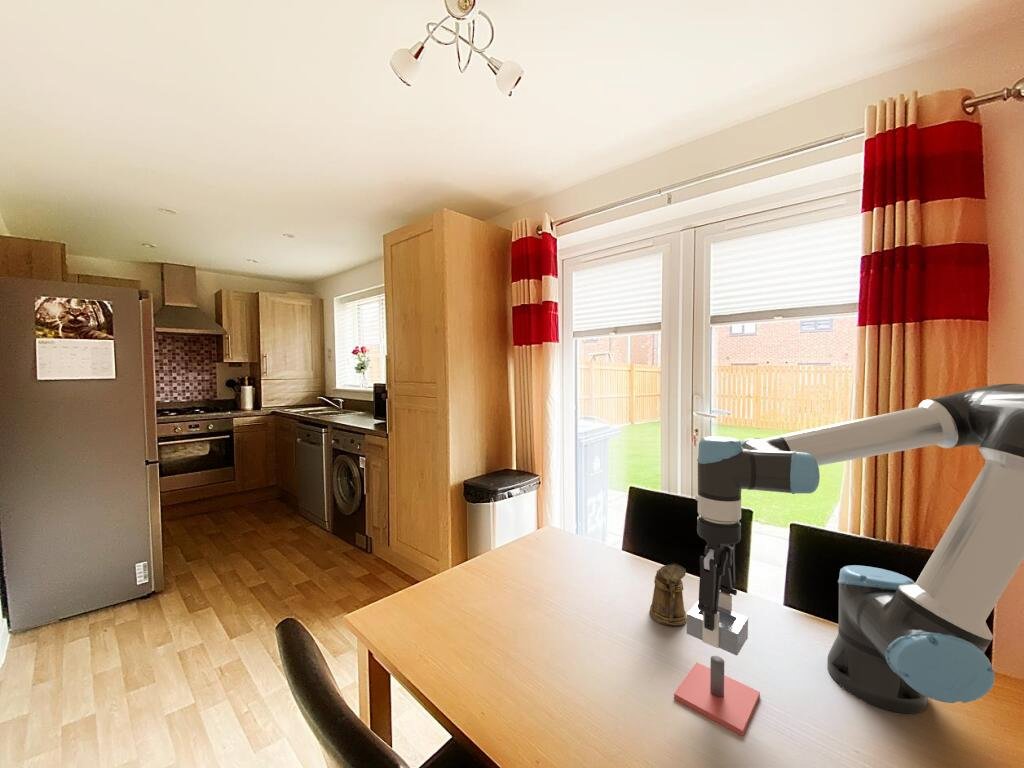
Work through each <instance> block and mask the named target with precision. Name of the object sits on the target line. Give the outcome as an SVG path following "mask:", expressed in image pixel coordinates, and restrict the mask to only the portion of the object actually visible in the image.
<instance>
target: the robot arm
mask: <svg viewBox="0 0 1024 768" xmlns="http://www.w3.org/2000/svg"><path fill="white" fill-rule="evenodd" d="M932 446H937V447H939V448H943V449H952V448H953V449H954V448H956V447H967V446H968V447H969V446H977V447H978V446H979V447H978V451H979V453H980V454H981V456H982V457H983V459H984V460H985V462H984V465H983V467H982V468H981V470H980V471H979V473H978V475H977V476H976V479H975V480H974V481H973V484H972V485H971V487H970V489H969V490H968V492H967V494H966V495H965V497H964V500H963V501H962V502H961V504H960V506H959V507H958V510H957V511H956V513H955V514H954V516H953V517H952V519H951V522H950V523H949V525H948V526H947V528H946V530H945V532H944V533H943V535H942V537H941V538H940V539H939V542H938V543H937V544H936V547H935V548H934V551H933V552H932V554H931V555H930V557H929V559H928V561H926V564H925V565H924V568H923V569H922V571H921V572H920V575H918V578H917V580H916V581H914V580H913V579H912V578H910V577H908V576H906V575H903V574H900V573H899V572H896V571H893V570H888V569H884V568H879V567H873V566H870V565H869V566H866V565H858V564H857V565H856V564H853V565H845V566H843V567H842V568H840V569H839V570H840V571H839V577H838V580H837V583H838V621H837V622H838V632H837V636H836V638H835V640H834V642H833V644H832V646H831V648H830V650H829V652H828V655H827V659H826V660H827V661H826V662H827V666H826V667H827V672H828V673H829V674H830V676H831V678H832V679H833V680H834V681H835V682H836V683H837V684H838V685H839V686H840V687H841V688H843V689H844V690H846V691H847V692H848V693H850V694H851V695H853V696H855V697H857V698H859V700H862V701H864V702H866V703H868V704H870V705H873V706H875V707H878V708H882V709H884V710H888V711H892V712H896V713H901V714H916V713H917V714H918V713H921V712H923V711H925V710H926V709H927V706H928V698H929V699H931V700H934V701H938V702H941V703H948V704H956V703H958V702H961V703H963V704H965V703H966V704H967V703H970V702H974V701H976V700H979V699H982V698H983V697H985V696H986V695H987V694H988V693H989V692H990V691H991V689H992V688H993V686H994V683H995V681H996V680H995V678H996V677H995V671H994V668H992V663H991V662H990V659H989V658H988V656H987V655H986V654H985V652H986V650H987V649H988V647H989V646H990V644H991V642H992V641H993V639H994V635H993V633H992V632H991V630H990V629H989V627H988V624H987V622H986V621H987V620H988V618H989V616H990V614H992V613H991V612H992V611H993V609H994V608H995V606H996V604H997V603H998V601H999V600H1000V598H1001V597H1002V595H1003V593H1004V592H1005V590H1006V588H1007V587H1008V586H1009V583H1010V582H1011V580H1012V579H1013V577H1014V576H1015V574H1016V572H1017V571H1018V569H1019V567H1020V565H1021V564H1022V563H1023V561H1024V383H999V384H993V385H986V386H985V385H984V386H982V387H977V388H972V389H968V390H963V391H959V392H956V393H950V394H947V395H943V396H939V397H935V398H934V397H933V398H928V399H925V400H922V401H921V402H920V403H919V405H918V406H917V407H913V408H911V407H910V408H908V409H901V410H898V411H893V412H888V413H887V412H886V413H882V414H879V415H873V416H869V417H863V418H858V419H854V420H849V421H844V422H839V423H834V424H829V425H823V426H820V427H814V428H810V429H805V430H801V431H795V432H789V433H785V434H781V435H776V436H775V435H774V436H770V437H765V438H760V437H748V438H745V439H743V440H742V441H741V440H740V439H738V438H734V437H725V436H705V437H702V438H701V439H700V440H699V442H698V453H697V459H696V461H697V496H695V497H694V499H695V501H697V513H698V516H697V519H696V520H697V521H696V522H697V524H696V525H697V526H696V532H697V533H696V534H697V535H698V537H700V538H701V539H703V540H704V541H705V542H706V546H705V547H704V551H703V555H700V557H699V559H698V561H699V583H698V584H699V586H698V601H699V602H698V601H697V602H698V605H697V607H698V609H699V610H701V611H703V641H702V643H705V644H708V645H709V646H711V647H714V648H716V649H718V647H719V612H718V606H719V607H721V608H724V609H727V610H730V611H732V612H733V610H732V609H733V596H737V594H738V590H737V589H734V588H735V587H736V586H737V585H736V584H737V583H736V557H735V556H736V552H735V550H736V544H738V543H740V541H741V539H742V537H741V536H742V533H741V531H742V523H741V522H740V520H741V519H742V490H749V491H761V492H763V491H764V492H775V493H785V494H792V495H795V494H813V493H814V492H816V491H817V489H818V487H819V486H820V476H821V475H820V474H821V473H820V468H819V466H824V465H830V464H837V463H842V462H845V461H851V460H852V461H854V460H856V459H857V460H859V459H864V458H868V457H869V458H870V457H874V456H880V455H885V454H893V453H897V452H903V451H908V450H913V449H919V448H925V447H932ZM732 595H733V596H732Z"/></svg>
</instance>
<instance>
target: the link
mask: <svg viewBox="0 0 1024 768" xmlns="http://www.w3.org/2000/svg"><path fill="white" fill-rule="evenodd" d="M698 602H699V600H698V601H697V602H696V603H695V604H694V605H693V606H692V607H691V609H690V610H688V612H686V618H687V620H686V634H687V635H689V636H691V637H694V638H696V639H698V640H701V642H703V611H701V610H699V609H698V607H697V605H698ZM718 612H719V647H718V648H719V649H721V650H723V651H726V652H728V653H730V654H732V655H734V656H738V655H739V653H740V652H741V650H742V648H743V646H745V645H744V644H745V643H746V641H747V639H748V637H749V617H748V616H747V615H743V614H740V613H738V612H735V611H733V610H732V611H730V610H727V609H724V608H721V607H719V606H718ZM718 648H717V649H718Z"/></svg>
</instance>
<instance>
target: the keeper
mask: <svg viewBox="0 0 1024 768" xmlns="http://www.w3.org/2000/svg"><path fill="white" fill-rule="evenodd" d="M673 696H674V697H673V699H674V700H676V701H677V702H679V703H680V704H681V703H682V704H683V705H685V706H687V707H689V708H690V709H692V710H694V711H696V712H697V713H700V714H701V715H703V716H705V717H707V718H709V720H713V721H714V722H716V723H718V724H720V725H721V726H723V727H725V728H727V729H728V730H730V731H732V732H734V733H735V734H737V735H740V736H741V737H744V735H745V733H746V732H745V731H746V730H747V727H748V725H749V722H750V721H751V718H752V716H753V714H754V711H755V709H756V706H757V704H758V702H759V700H760V698H761V691H759V690H756V689H754V688H752V687H750V686H748V685H746V684H744V683H741V682H740V681H738V680H735V679H733V678H731V677H730V676H727V675H725V660H724V658H722V657H721V656H718V655H711V656H710V667H707V666H706V665H704V664H701V663H699V662H695V664H694V665H693V666H692V668H691V670H689V672H688V673H687V674H686V676H685V678H684V679H683V680H682V681H681V683H680V685H679V686H678V688H677V689H676V690H675V692H674V694H673Z"/></svg>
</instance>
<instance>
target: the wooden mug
mask: <svg viewBox="0 0 1024 768" xmlns="http://www.w3.org/2000/svg"><path fill="white" fill-rule="evenodd" d="M686 572H687V570H686V568H685V567H683V566H682V565H680V564H678V563H669V564H666V565H663V566H661V567H660V568H659V569H658V570H657V571H656V574H655V576H654V583H653V584H654V589H653V593H652V601H651V604H650V608H649V614H650V615H649V616H650V617H651V618H652V619H653V620H654V621H656V622H658V623H659V624H661V625H665V626H670V627H681V626H684V625H685V624H686V623H687V612H686V609H685V604H684V596H683V590H684V583H683V581H682V579H683V578H684V577H685V576H686Z"/></svg>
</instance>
